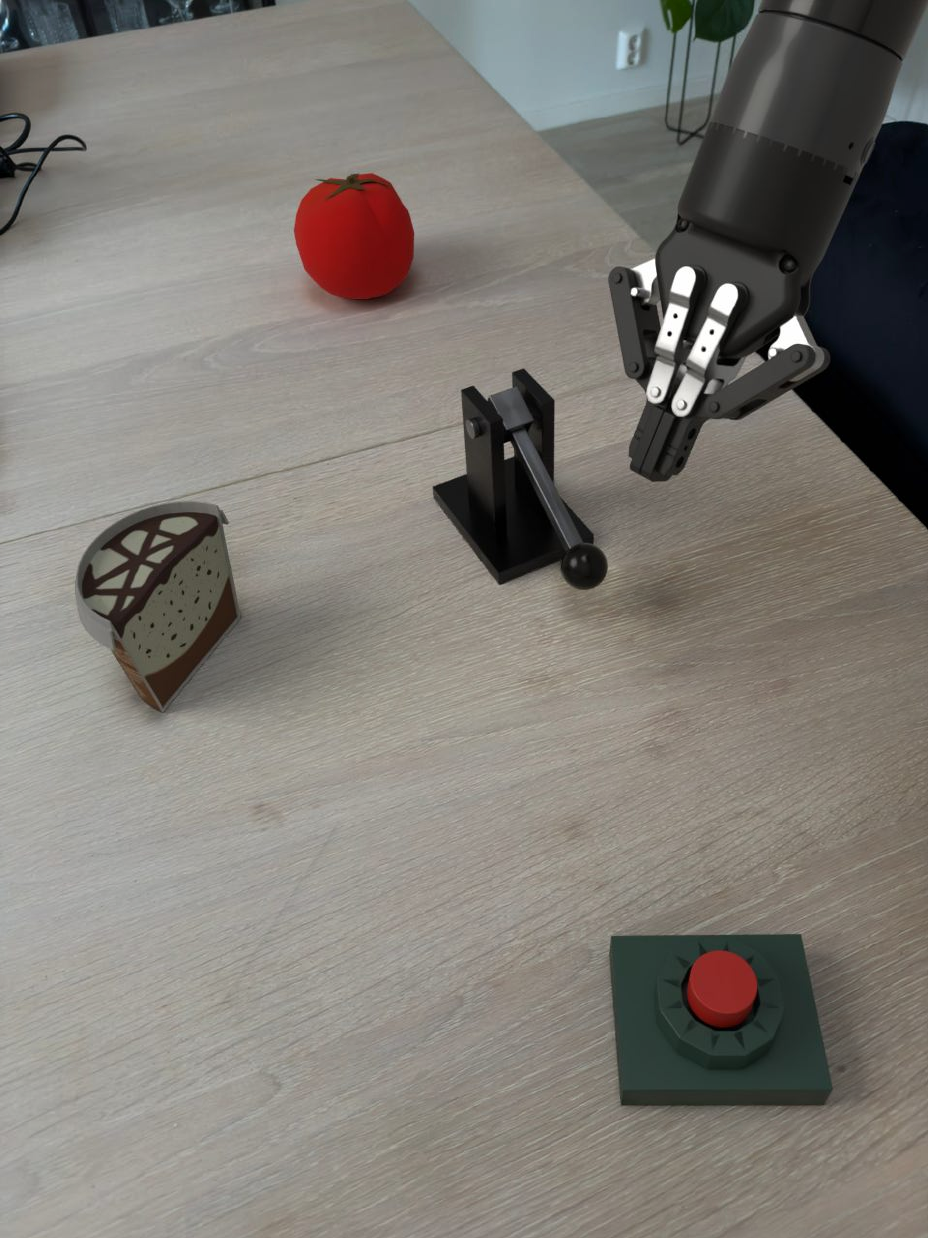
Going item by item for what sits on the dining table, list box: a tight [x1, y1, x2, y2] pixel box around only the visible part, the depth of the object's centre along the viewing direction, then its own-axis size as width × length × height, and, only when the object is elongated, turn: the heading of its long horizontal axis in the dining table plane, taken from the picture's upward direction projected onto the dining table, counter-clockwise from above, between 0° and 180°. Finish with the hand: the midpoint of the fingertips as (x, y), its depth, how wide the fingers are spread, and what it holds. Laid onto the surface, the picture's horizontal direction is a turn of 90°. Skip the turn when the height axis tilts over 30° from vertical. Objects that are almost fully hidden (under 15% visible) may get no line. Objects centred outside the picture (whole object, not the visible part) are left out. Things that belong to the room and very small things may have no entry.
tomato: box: [293, 172, 415, 300], centre depth 104 cm, size 12×12×11 cm
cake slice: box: [74, 500, 242, 714], centre depth 73 cm, size 12×6×10 cm, turn 154°
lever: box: [486, 386, 609, 591], centre depth 75 cm, size 15×3×3 cm, turn 27°
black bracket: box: [432, 367, 595, 585], centre depth 79 cm, size 11×8×12 cm
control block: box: [608, 933, 834, 1106], centre depth 55 cm, size 10×8×4 cm
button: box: [687, 951, 757, 1028], centre depth 54 cm, size 3×3×2 cm
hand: (649, 475), depth 59 cm, fingers closed
